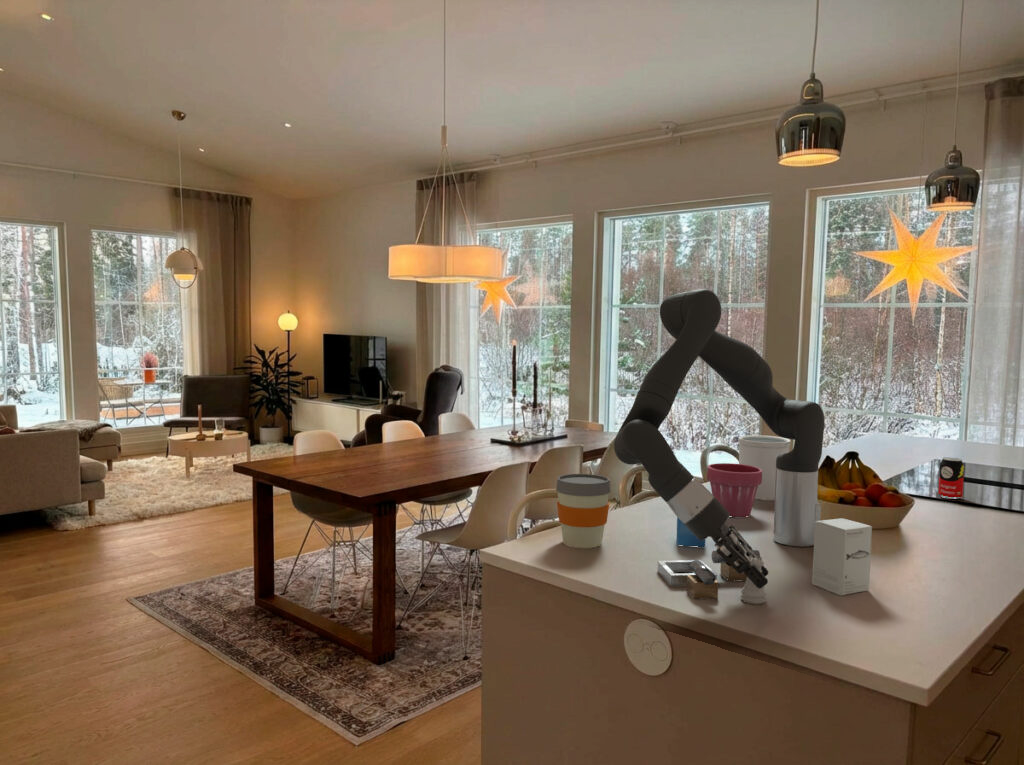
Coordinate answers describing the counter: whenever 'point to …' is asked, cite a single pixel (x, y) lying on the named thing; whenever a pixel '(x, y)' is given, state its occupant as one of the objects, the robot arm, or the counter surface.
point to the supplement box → (842, 556)
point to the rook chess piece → (753, 586)
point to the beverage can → (951, 477)
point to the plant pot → (735, 486)
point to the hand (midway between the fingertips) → (764, 580)
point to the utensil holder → (763, 459)
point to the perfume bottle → (687, 536)
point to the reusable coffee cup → (583, 508)
